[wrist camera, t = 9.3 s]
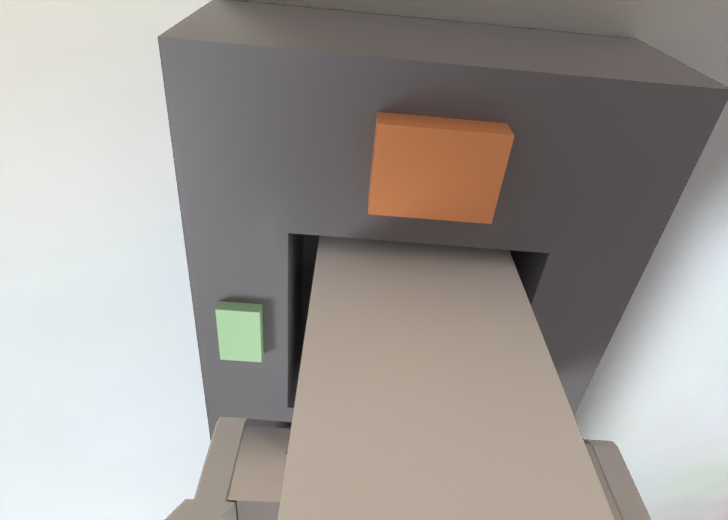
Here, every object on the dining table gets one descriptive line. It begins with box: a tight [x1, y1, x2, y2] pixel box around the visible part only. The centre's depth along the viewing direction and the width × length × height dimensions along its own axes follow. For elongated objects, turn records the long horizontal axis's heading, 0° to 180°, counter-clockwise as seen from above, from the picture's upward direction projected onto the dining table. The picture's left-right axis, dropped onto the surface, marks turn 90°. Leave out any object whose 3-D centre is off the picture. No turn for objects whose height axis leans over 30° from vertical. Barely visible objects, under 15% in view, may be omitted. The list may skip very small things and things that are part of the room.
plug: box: [278, 236, 614, 520], centre depth 10 cm, size 4×4×10 cm
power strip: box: [158, 0, 728, 439], centre depth 17 cm, size 24×10×5 cm, turn 175°
